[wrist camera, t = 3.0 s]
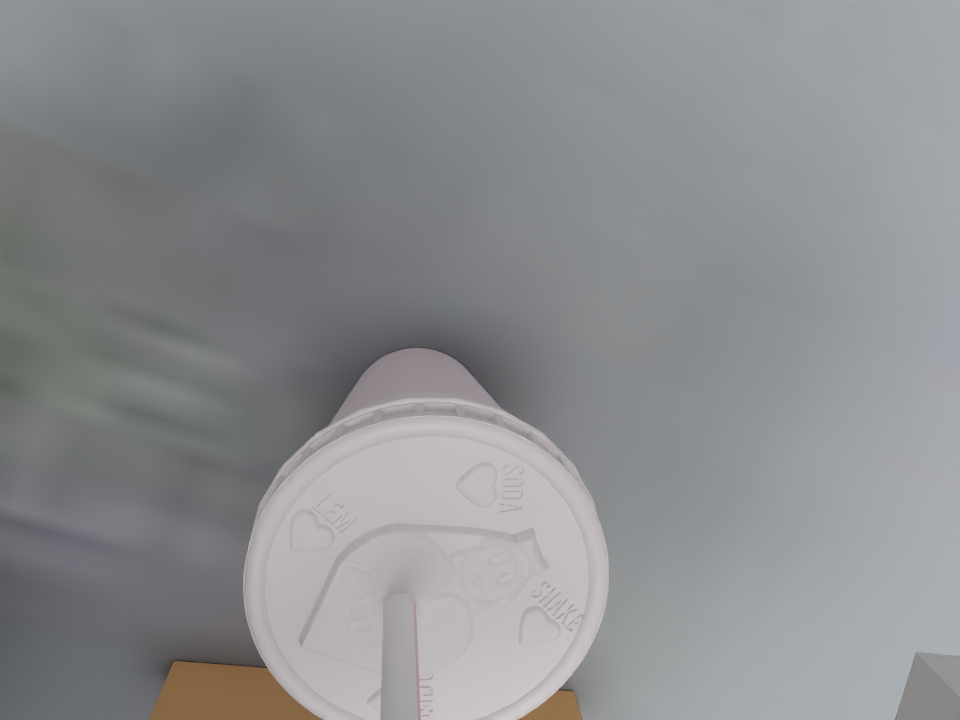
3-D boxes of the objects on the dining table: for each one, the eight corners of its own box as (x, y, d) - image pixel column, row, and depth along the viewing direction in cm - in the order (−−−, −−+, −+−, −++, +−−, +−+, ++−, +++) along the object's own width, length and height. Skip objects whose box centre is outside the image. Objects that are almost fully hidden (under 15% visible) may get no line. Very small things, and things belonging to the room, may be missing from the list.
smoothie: (260, 350, 23) (76, 657, 10) (484, 262, 23) (606, 450, 10) (354, 551, 25) (307, 1043, 12) (562, 469, 25) (757, 870, 12)
